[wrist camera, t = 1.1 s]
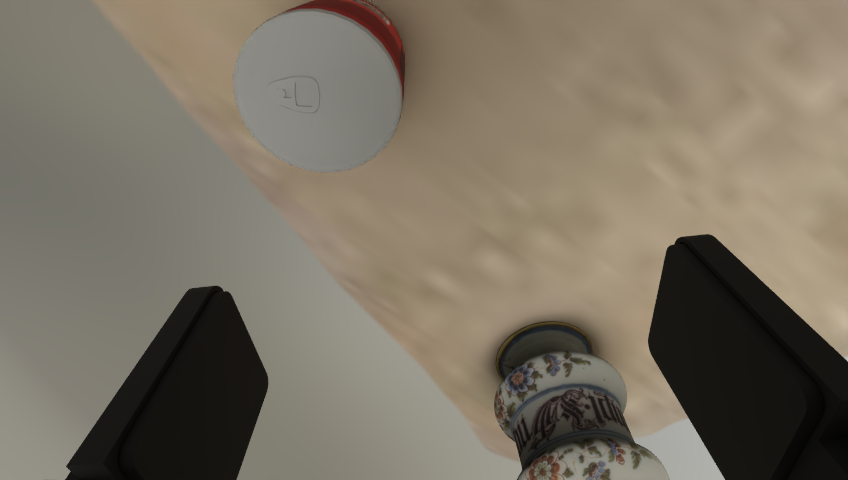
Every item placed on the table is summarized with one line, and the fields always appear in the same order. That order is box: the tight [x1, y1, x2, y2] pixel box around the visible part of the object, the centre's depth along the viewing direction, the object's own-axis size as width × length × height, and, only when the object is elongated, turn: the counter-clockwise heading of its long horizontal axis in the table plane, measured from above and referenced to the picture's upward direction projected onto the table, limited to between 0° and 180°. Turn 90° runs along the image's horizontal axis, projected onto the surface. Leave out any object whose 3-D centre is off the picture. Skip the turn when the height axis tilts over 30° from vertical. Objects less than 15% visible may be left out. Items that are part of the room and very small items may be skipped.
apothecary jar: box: [494, 322, 670, 480], centre depth 39 cm, size 12×12×18 cm
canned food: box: [233, 0, 405, 172], centre depth 26 cm, size 8×8×11 cm
